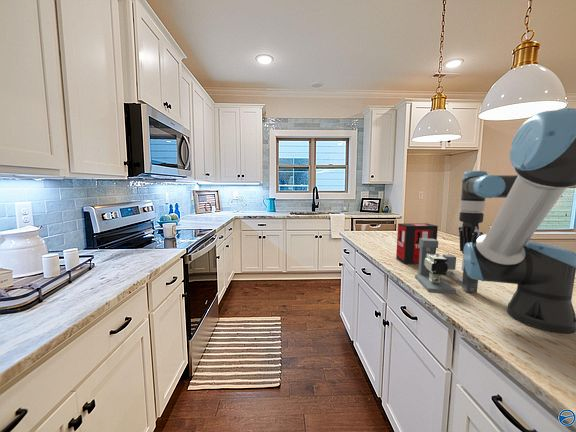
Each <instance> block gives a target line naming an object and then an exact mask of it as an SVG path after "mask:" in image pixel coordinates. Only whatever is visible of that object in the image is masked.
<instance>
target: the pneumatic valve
mask: <svg viewBox="0 0 576 432" xmlns="http://www.w3.org/2000/svg"><path fill="white" fill-rule="evenodd" d="M447 261H448V260H447V259H446V258H444V257H443V255H441V254H440V253H437V252H436V253H426V258H424V265H425V267H426V268H427V269H428V270H429V271H430V273H429V281H430V282H431V283H439V284H440V283H441V282H440V280H441V279H440V278H442V276H447V271H449V269H448V266H447Z"/></svg>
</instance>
